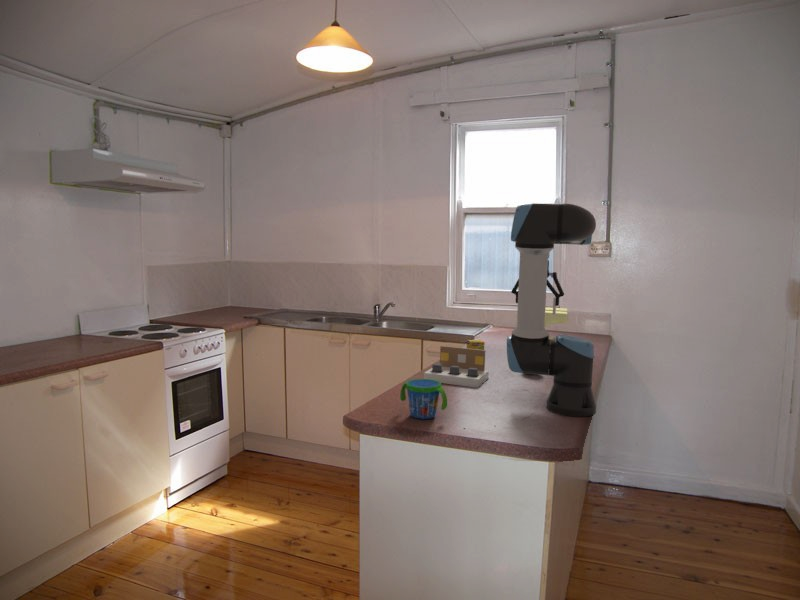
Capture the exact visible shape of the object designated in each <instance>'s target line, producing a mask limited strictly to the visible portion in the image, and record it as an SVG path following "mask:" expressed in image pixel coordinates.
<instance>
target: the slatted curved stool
mask: <svg viewBox="0 0 800 600" xmlns="http://www.w3.org/2000/svg"><path fill="white" fill-rule="evenodd" d="M568 315H569V314H568V308H565V307H564V308H561V307H556V314H553V307H545V325H544V328H545V329H546V327H547V326H549V325H554V324H568V317H569V316H568ZM549 339H550V340H551V339H555V337H551V336H549ZM550 342H551V341H550Z"/></svg>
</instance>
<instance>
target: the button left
mask: <svg viewBox="0 0 800 600" xmlns="http://www.w3.org/2000/svg"><path fill="white" fill-rule="evenodd" d="M431 365H432V366H431V368H432V372H436V373H442V365H441V364H440V363H433V364H431Z"/></svg>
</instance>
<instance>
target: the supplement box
mask: <svg viewBox="0 0 800 600" xmlns="http://www.w3.org/2000/svg"><path fill="white" fill-rule="evenodd" d="M465 348H468V349H478V350H485V341H482V340H481V339H467V340H466V346H465Z"/></svg>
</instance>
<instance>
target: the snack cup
mask: <svg viewBox="0 0 800 600" xmlns="http://www.w3.org/2000/svg"><path fill="white" fill-rule="evenodd" d="M406 390H407V395H406ZM407 396H408V397H407ZM439 396H441V399H442V402H441V408H440V409H441V411H445V410H446V408H447V407H448V398H447V393H446V390H445V389H444V388H443V387H442V383H440V382H438V381H436V380H430V379H424V378H417V379H414V378H413V379H409V380H408V381H406V382H404V383H403V385H402V387H401V390H400V396H399V399H400V400H401V401H402V402H404V401H406V400H407V399H408V407H409V413H410V416H411V418H415V419H419V420H428V419H434V418H435V417H436V413H437V409H438V404H439Z"/></svg>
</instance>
